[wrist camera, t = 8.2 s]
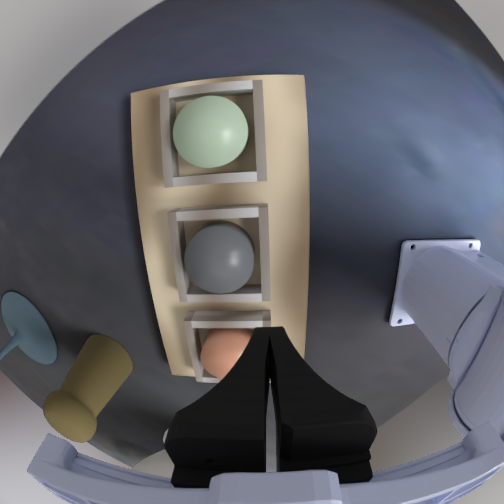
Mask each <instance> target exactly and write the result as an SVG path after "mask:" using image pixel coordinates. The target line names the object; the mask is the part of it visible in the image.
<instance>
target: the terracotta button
mask: <svg viewBox="0 0 504 504" xmlns="http://www.w3.org/2000/svg"><path fill="white" fill-rule="evenodd" d="M252 333H253V332H252V331H251V330H250V329H248V328H212V329H211V330H210V331H209V332H208V333H207V335H206V338H205V341H204V344H203V348H202V351H201V357H200V358H201V363H202V365H203V367H204V368H205V369H206V370H207V371H208V372H209V373H210V374H211V375H213V376H215V377H217V378H220V379H223V378H224V377H225V375H226V374H227V373H228V372H229V371H230V370H231V368H232V367H233V366H234V364H235V363H236V362H237V360H238V359H239V357H240V356H241V354H242V353H243V351H244V349H245V347H246V346H247V344H248V342H249V340H250V338H251V335H252Z"/></svg>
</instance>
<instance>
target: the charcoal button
mask: <svg viewBox="0 0 504 504" xmlns="http://www.w3.org/2000/svg"><path fill="white" fill-rule="evenodd" d="M254 252H255V251H254V245H253V242H252V239H251V237H250V236H249V234H248V233H247V232H246V231H245V230H244V229H243V228H242V227H241V226H239V225H237V224H235V223H233V222H229V221H215V222H211V223H209V224H207V225H205V226H204V227H202V228H201V229H200V230H199V231H198V232H197V233H196V235H195V236H194V237H193V238H192V239H191V241H190V242H189V244H188V246H187V248H186V251H185V257H184V261H185V267H186V270H187V273H188V275H189V276H190V278H191V279H192V280H193V282H194V283H195V284H196V285H198V286H199V287H200V288H202V289H204V290H206V291H208V292H212V293H217V294H224V293H230V292H233V291H236V290H238V289H239V288H241V287H242V286H243V285H244V284H245V283H246V282H247V281H248V280H249V278H250V276H251V274H252V271H253V266H254Z"/></svg>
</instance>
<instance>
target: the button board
mask: <svg viewBox="0 0 504 504" xmlns="http://www.w3.org/2000/svg"><path fill="white" fill-rule="evenodd" d="M204 96H220V97H224V98H226V99H228V100H230V101H232V102H233V103H235V104H236V105H237V106H238V107H239V108H240V109H241V111H242V112H243V114H244V116H245V119H246V121H247V124H248V128H249V138H248V143H247V145H246V148H245V150H244V151H243V153H242V154H241V155H240V156H239V157H238V158H237V159H236V160H234V161H233V162H231V163H229V164H227V165H224V166H220V167H214V168H202V167H198V166H195V165H192V164H191V163H189V162H187V161H186V160H185V159H184V158H183V157H182V156H181V155H180V154H179V152H178V151H177V149H176V147H175V144H174V140H173V127H174V123H175V120H176V118H177V116H178V114H179V113H180V111H181V110H182V109H183V108H184V107H185V106H186V105H187V104H189V103H190V102H192V101H193V100H195V99H197V98H200V97H204ZM131 130H132V151H133V166H134V178H135V188H136V198H137V207H138V215H139V222H140V230H141V236H142V243H143V249H144V255H145V261H146V267H147V272H148V277H149V282H150V288H151V292H152V297H153V302H154V306H155V311H156V315H157V319H158V324H159V328H160V332H161V336H162V340H163V343H164V347H165V351H166V355H167V358H168V362H169V365H170V369H171V372H172V375H182V376H195V377H196V381H197V382H212V383H219V382H220V381H221V380H222V379H220V378H217V377H215V376H213V375H211V374H210V373H209V372H208V371H207V370H206V369H205V368H204V367H203V365H202V363H201V358H200V357H201V351H202V348H203V344H204V341H205V338H206V335H207V333H208V332H209V331H210V330H211V329H212V328H248V329H250V330H251V331H252V332H253V329H254V328H255V327H278V326H283V327H284V328H285V331H286V333H287V335H288V337H289V339H290V340H291V342H292V344H293V345H294V347H295V348H296V350H297V351H298V353H299V354H300V355H301V357H302V358H303V359H304V351H305V337H306V321H307V302H308V278H309V235H310V191H309V149H308V126H307V108H306V93H305V80H304V75H252V76H236V77H224V78H214V79H205V80H197V81H190V82H184V83H178V84H172V85H166V86H161V87H156V88H151V89H147V90H142V91H138V92H134V93H131ZM215 221H229V222H233V223H235V224H237V225H239V226H241V227H242V228H243V229H244V230H245V231H246V232H247V233H248V234H249V236H250V237H251V239H252V242H253V245H254V251H255V252H254V266H253V271H252V274H251V276H250V278H249V280H248V281H247V282H246V283H245V284H244V285H243V286H242V287H241V288H239V289H238V290H236V291H233V292H230V293H224V294H217V293H212V292H208V291H206V290H204V289H202V288H200V287H199V286H198V285H196V284H195V283H194V282H193V280H192V279H191V278H190V276H189V275H188V273H187V270H186V267H185V261H184V257H185V251H186V248H187V246H188V244H189V242H190V241H191V239H192V238H193V237H194V236H195V235H196V233H197V232H198V231H199V230H200V229H201V228H202V227H204V226H205V225H207V224H209V223H211V222H215ZM270 383H271V382H270Z"/></svg>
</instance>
